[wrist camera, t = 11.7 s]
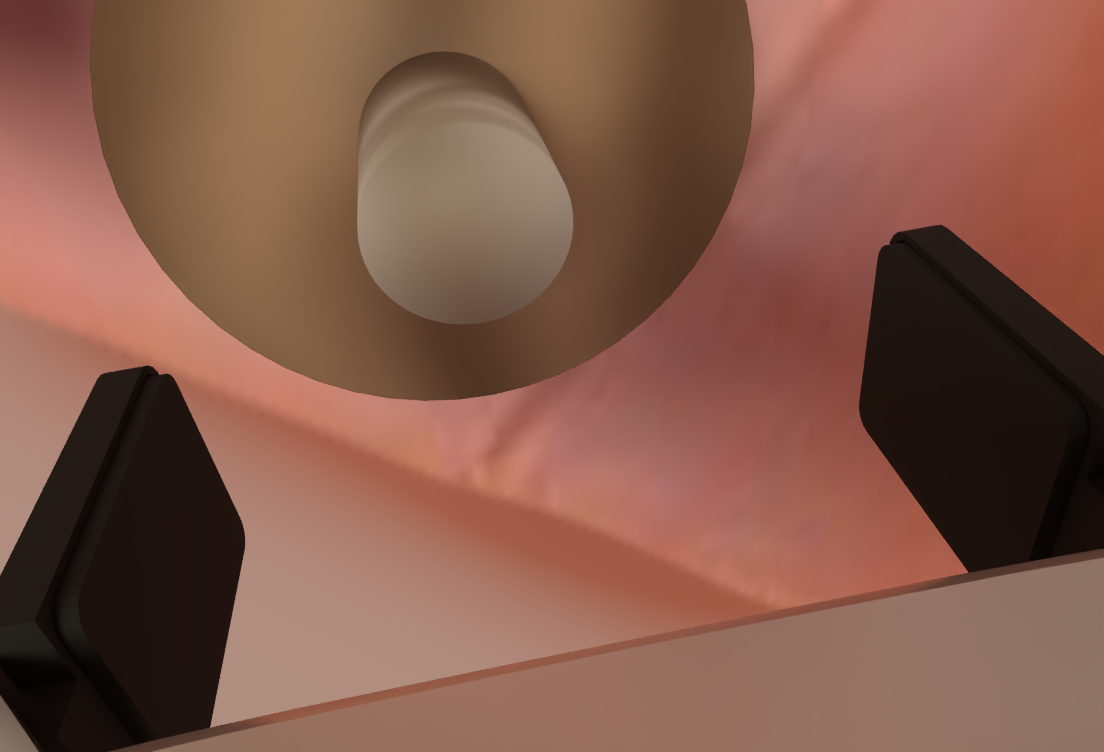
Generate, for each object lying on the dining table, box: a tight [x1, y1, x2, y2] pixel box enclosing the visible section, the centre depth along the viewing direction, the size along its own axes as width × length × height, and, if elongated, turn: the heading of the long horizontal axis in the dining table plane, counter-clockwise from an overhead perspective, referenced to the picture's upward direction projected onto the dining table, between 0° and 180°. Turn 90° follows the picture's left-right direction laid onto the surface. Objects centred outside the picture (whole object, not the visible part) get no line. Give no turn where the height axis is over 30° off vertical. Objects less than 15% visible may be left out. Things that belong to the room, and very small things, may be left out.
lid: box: [90, 0, 754, 401], centre depth 18 cm, size 15×15×6 cm
